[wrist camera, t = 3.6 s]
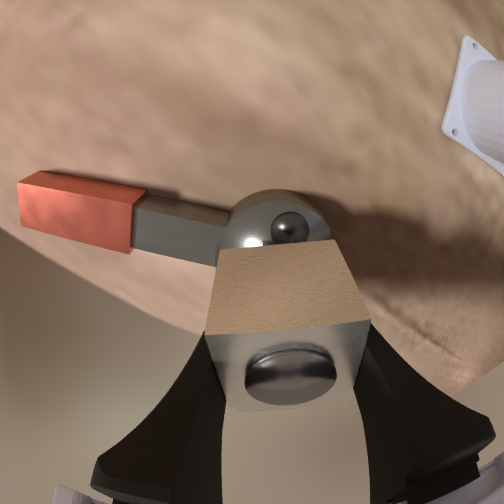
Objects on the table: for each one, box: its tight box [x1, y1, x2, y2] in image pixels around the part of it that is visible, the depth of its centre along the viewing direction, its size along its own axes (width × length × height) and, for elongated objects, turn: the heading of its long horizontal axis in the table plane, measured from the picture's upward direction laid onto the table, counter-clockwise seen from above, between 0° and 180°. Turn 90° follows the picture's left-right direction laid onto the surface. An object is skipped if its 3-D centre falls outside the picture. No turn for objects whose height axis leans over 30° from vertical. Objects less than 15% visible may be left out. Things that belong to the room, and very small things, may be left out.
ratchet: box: [17, 171, 337, 268], centre depth 15 cm, size 21×7×5 cm, turn 76°
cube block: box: [204, 239, 371, 412], centre depth 11 cm, size 5×5×5 cm
